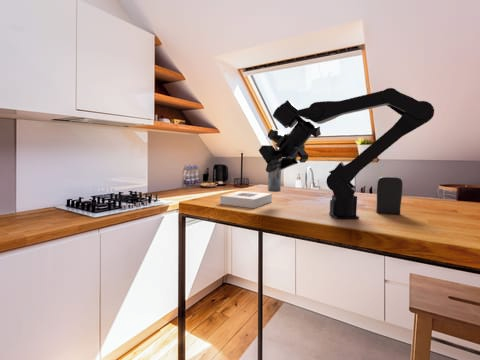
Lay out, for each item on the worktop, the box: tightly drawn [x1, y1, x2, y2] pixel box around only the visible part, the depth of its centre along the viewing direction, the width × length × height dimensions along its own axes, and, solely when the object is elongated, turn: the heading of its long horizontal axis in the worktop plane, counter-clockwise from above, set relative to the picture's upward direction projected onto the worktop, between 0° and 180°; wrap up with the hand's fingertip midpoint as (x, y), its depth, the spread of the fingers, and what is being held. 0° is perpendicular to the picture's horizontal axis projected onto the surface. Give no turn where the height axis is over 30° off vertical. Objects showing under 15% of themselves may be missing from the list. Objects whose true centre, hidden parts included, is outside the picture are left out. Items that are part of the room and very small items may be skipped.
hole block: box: [219, 190, 273, 209], centre depth 101 cm, size 14×14×3 cm
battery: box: [375, 176, 404, 215], centre depth 85 cm, size 7×4×11 cm, turn 69°
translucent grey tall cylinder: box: [267, 159, 282, 193], centre depth 94 cm, size 4×4×11 cm
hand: (271, 171), depth 95 cm, fingers closed on translucent grey tall cylinder, 4 cm apart
